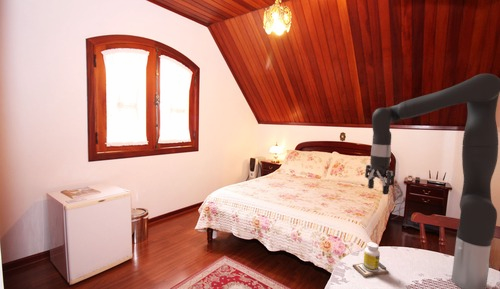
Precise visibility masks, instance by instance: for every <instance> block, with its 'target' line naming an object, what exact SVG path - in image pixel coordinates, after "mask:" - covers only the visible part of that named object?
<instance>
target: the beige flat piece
mask: <svg viewBox="0 0 500 289" xmlns="http://www.w3.org/2000/svg"><path fill="white" fill-rule="evenodd" d="M363 263H364V262H362V263H356V264H355V263H354V264H352V267H353V269H354V270H356V271H357V273H359V274H360V276H362V277H363V278H364V279H365V278H369V277H370V278H371V277H375V276H381V275H382V276H383V275H387V274H389V273H390V272H389V270H388V269H387V266H385V265H383V264H382V263H381V262H380V261H379V267H378V271H375V272H373V271H369V270H367V269H365V268H364V266H363Z"/></svg>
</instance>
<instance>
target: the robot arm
mask: <svg viewBox="0 0 500 289" xmlns="http://www.w3.org/2000/svg"><path fill="white" fill-rule="evenodd" d="M499 95H500V78H499V77H498V76H497V75H495V74H492V73H480V74H477V75H474V76H473V77H471V78H468V79H466V80H465V81H462V82H460V83H458V84H455V85H453V86H451V87H447V88H445V89H442V90H438V91H435V92H433V93H428V94H425V95H422V96H418V97H415V98H411V99H407V100H405V101H402V102H400V103H399V104H396V105H392V106H389V107H379V108H377V109H375V110H374V112H372V118H371V125H372V132H373V134H372V143H371V144H372V145H371V149H370V150H371V151H370V161H369V162H370V164H367V165H366V166H365V172H364V173H365V175H364V178H365V179H367V180H368V182H367V183H368V185H367V186H368V187H367V188H368V189H369V190H371V189H374V186H375V179H376V178H377V179H379V180H380V182H382V195H389V192H390V186H394V184H395V171H394V170H389V167H390V166H391V157H392V156H391V154H392V148H391V145H392V132H391V131H390V129H391V124H393V123H396V122H399V121H402V120H405V119H411V118H415V117H418V116H423V115H427V114H429V113H432V112H434V111H438V110H441V109H445V108H447V107H451V106H455V105H461V104H466V107H467V108H466V109H467V117H466V118H467V119H466V123H465V127H464V132H463V137H462V151H461V152H462V153H461V159H462V160H461V161H462V164H461V165H462V174H463V185H462V192H461V196H460V200H459V209H460V216H459V223H458V224H459V225H458V228H457V230H456V237H455V238H456V240H455V246H454V255H453V262H452V263H453V264H452V271H451V272H452V273H451V281H452V282H453V283H454V284H455V286H457V287H459V288H461V289H486V288H487V285H488V284H487V283H488V276H489V269H490V263H489V262H490V254H491V247H492V241H493V239H494V237H495V232H496V227H497V220H498V210H497V209H496V207H495V206H494V204H493V201H492V190H491V189H492V188H491V184H492V183H491V182H492V178H493V176H494V173H495V170H496V167H497V163H498V158H499V133H498V131H499V130H498V125H497V124H498V123H497V118H496V117H497V108H498V107H497V106H498V101H499V98H500V96H499Z"/></svg>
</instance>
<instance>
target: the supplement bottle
mask: <svg viewBox="0 0 500 289" xmlns="http://www.w3.org/2000/svg"><path fill="white" fill-rule="evenodd" d="M380 253H381V252H380V251H379V244H377V243H375V242H373V241H372V242H371V241H369V242H367V243H366V247H365V248H364V253H363V254H364V256H363V262H362V263H363V266H364V268H365V269H367V270H369V271H373V272H375V271H378V267H379V262H380V256H381V254H380Z"/></svg>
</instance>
